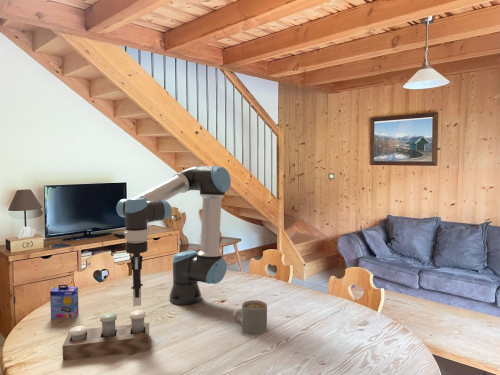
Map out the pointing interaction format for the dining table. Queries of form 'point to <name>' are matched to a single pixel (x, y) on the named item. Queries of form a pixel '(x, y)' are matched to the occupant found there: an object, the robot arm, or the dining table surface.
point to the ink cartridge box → (64, 302)
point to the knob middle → (108, 324)
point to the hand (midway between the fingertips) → (137, 305)
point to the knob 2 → (137, 321)
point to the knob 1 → (78, 332)
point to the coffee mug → (252, 317)
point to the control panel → (106, 343)
